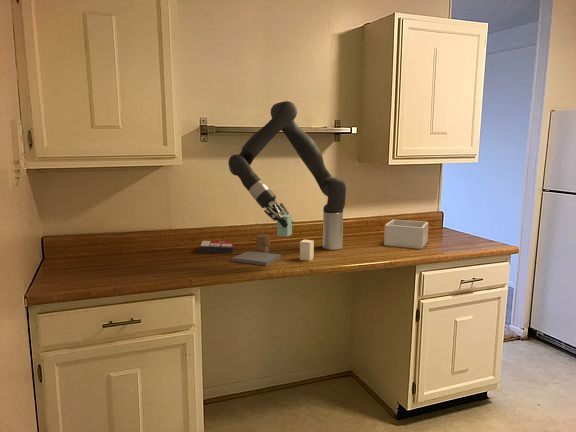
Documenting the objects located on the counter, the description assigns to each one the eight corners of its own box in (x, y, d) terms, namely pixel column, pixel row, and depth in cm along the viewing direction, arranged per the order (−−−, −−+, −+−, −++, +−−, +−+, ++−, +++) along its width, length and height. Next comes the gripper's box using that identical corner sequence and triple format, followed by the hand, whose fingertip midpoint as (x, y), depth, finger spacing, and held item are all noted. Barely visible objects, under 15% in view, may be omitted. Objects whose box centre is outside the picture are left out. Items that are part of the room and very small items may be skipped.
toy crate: (392, 238, 246) (392, 219, 244) (427, 241, 238) (428, 222, 237) (384, 245, 230) (384, 225, 228) (421, 248, 222) (422, 228, 221)
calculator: (232, 246, 212) (199, 244, 211) (232, 255, 213) (198, 254, 211) (233, 240, 223) (201, 239, 222) (233, 249, 224) (201, 248, 222)
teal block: (282, 233, 195) (282, 214, 194) (292, 234, 193) (291, 215, 192) (277, 235, 191) (277, 216, 189) (287, 236, 189) (287, 216, 188)
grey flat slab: (248, 254, 211) (248, 250, 211) (280, 257, 204) (280, 254, 204) (232, 261, 198) (232, 257, 198) (266, 265, 192) (266, 262, 192)
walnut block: (261, 251, 216) (261, 234, 215) (270, 252, 214) (270, 235, 213) (256, 253, 212) (256, 236, 211) (265, 254, 210) (265, 237, 209)
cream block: (303, 257, 206) (304, 239, 204) (313, 258, 204) (313, 240, 202) (299, 259, 202) (300, 241, 200) (309, 261, 200) (309, 242, 198)
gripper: (259, 189, 185) (287, 222, 182) (275, 186, 198) (302, 216, 195) (248, 202, 188) (275, 234, 186) (264, 198, 201) (290, 228, 198)
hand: (289, 225), depth 190 cm, fingers closed on teal block, 4 cm apart
